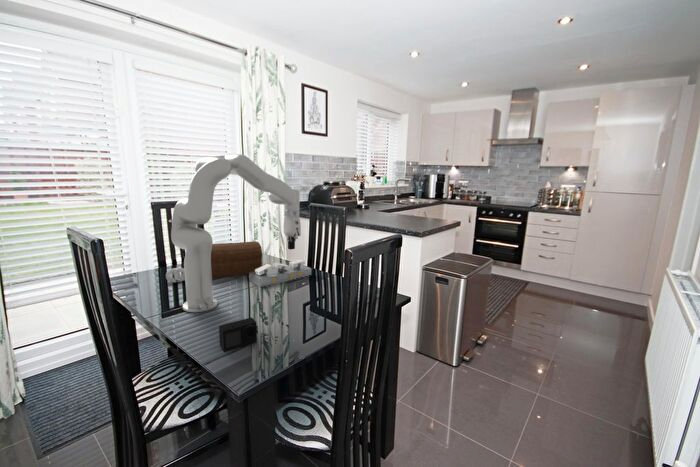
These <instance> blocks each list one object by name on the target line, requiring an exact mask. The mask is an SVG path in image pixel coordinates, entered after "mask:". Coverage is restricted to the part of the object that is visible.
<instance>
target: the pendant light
mask: <svg viewBox="0 0 700 467" xmlns="http://www.w3.org/2000/svg"><path fill="white" fill-rule="evenodd" d="M172 219H173V218H172ZM172 219H171V218H170V219H169V220H168V222H169V223H172ZM174 255H175V257H174V258H176V253H175V254H174ZM173 276H174V277H173ZM165 278H166V280H167V281H168V282H170V283H180V282H183V281H184V282H185V271H184V267H177V266H176V267H174V268H171V269H168V271H167V272H166V273H165Z"/></svg>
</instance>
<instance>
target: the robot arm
mask: <svg viewBox="0 0 700 467" xmlns="http://www.w3.org/2000/svg"><path fill="white" fill-rule="evenodd" d="M194 171H195V173H194V174H193V176H192V178H191V181H190V184H189V189H188V196H187V197H186V198H185V197H184V198H182V199H179V201H177V203H176V204H175V206H174V207H173V212H172V222H171V232H170V237H171V238H170V239H171V242H172V244H173V245H174V247H175V248H179V249H182V250H185V256H184V258H183V259H184V260H183V268H184V271H185V280H184V282H185V283H184V284H185V297H186V301H185V302H184V303H183V304H182V310H183V311H185V312H187V313H202V312H207V311H211V310H212V309H215V308H216V307H217V306H218V300H217V299H216V298H214V293H213V292H214V291H213V278H212V269H211V251H212V244H214V243H213V237H212V235H211V234H210V232H208V231H207V230H206V229H204V228H201V227H197V225H205V224H207V223H208V222H210V221H211V216H212V212H213V201H214V194H215V189H216V187H217V185H218V184H219V183H220V182H221V181H223V180H224V179H226V178H228V177H229V176H230V175H236V176H238V177H240V178H241V179H243V181H245V182H246V183H248V184H250V186H252V187H253V188H255V189H257V190H258V191H261V192H265V193H268V200H269V201H270V202H271V203H272V204H276V205H284V207H283V208H284V209H283V211H284V212H283V213H284V215H283V216H284V220H283V234H284V235H285V237H286V239H287V240H286V241H287V249H288V250H295V249H296V243H295V242H296V240H298V239H299V237H301V236H302V230H301V229H302V227H301V218H300V203H301V202H300V201H301V200H300V199H301V198H300V195H301V193H300V190H299V189H295V188H294V189H293V188H292V187H291V186H290V185H288V184H287V183H286V182H284V180H283V181H282V180H281V179H279V178H277V177H275V176H273V175H272V174H269V173H267V172H266V171H265V170H263V169H262V168H261V167H260V166H259V165H257V163H255V162H254V161H253V160H252V159H250V157H248V156H246V155H245V154H242V153H241V154H237V153H236V154H224V155H219V156H218V155H217V156H208V157H201V158H200V159H198V160H197V161H196V163H195V165H194Z"/></svg>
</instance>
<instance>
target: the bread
mask: <svg viewBox="0 0 700 467" xmlns="http://www.w3.org/2000/svg"><path fill="white" fill-rule="evenodd" d="M262 266H263V250H262V246H261V243H260V242H258V241H242V242H241V241H240V242H225V243H224V242H223V243H222V242H221V243H212V251H211V269H212V279H218V278H219V279H220V278H228V277H239V276H240V277H241V276H249V273H250V272H255V270H256V269H258V268H260V267H262Z"/></svg>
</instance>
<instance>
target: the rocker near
mask: <svg viewBox="0 0 700 467" xmlns="http://www.w3.org/2000/svg"><path fill="white" fill-rule="evenodd" d="M272 266H273V265H271V264H269V263H266V264H264V265H263V264H262V267H260V268H258V269H256V270H255V272H256V274H258V275H262V274H264V273H267V271H269V270H271V269H272V268H273V267H272Z"/></svg>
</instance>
